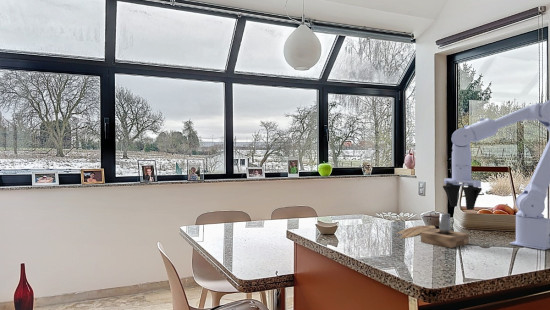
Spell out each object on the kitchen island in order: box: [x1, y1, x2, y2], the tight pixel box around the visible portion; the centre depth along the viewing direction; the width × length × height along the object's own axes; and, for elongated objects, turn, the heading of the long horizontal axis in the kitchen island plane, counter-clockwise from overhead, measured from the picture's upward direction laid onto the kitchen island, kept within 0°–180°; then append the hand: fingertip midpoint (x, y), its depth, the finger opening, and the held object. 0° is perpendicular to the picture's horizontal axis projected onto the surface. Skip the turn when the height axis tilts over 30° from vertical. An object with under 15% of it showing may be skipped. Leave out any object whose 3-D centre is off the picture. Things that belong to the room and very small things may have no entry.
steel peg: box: [438, 212, 451, 235], centre depth 125 cm, size 3×3×9 cm
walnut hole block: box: [420, 228, 470, 249], centre depth 125 cm, size 10×10×3 cm
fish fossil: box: [397, 225, 437, 239], centre depth 142 cm, size 26×10×1 cm, turn 142°
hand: (461, 208), depth 130 cm, fingers open, 7 cm apart
